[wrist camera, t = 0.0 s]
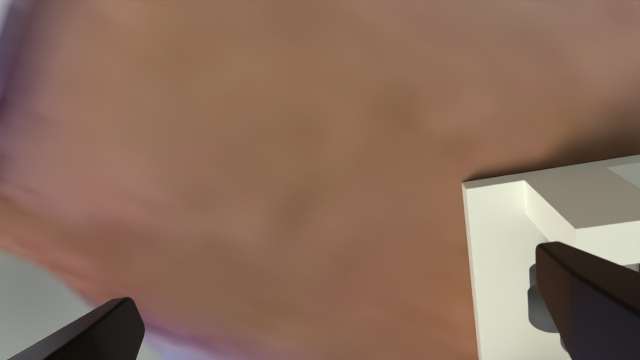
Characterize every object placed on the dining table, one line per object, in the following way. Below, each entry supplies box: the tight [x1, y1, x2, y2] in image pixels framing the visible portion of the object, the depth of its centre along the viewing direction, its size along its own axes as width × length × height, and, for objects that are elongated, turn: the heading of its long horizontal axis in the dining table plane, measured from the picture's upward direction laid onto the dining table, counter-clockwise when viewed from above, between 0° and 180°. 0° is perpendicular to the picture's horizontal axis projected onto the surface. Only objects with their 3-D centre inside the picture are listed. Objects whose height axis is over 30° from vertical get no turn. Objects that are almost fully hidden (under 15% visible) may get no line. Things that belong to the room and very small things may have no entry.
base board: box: [462, 155, 640, 360], centre depth 23 cm, size 20×10×6 cm, turn 12°
